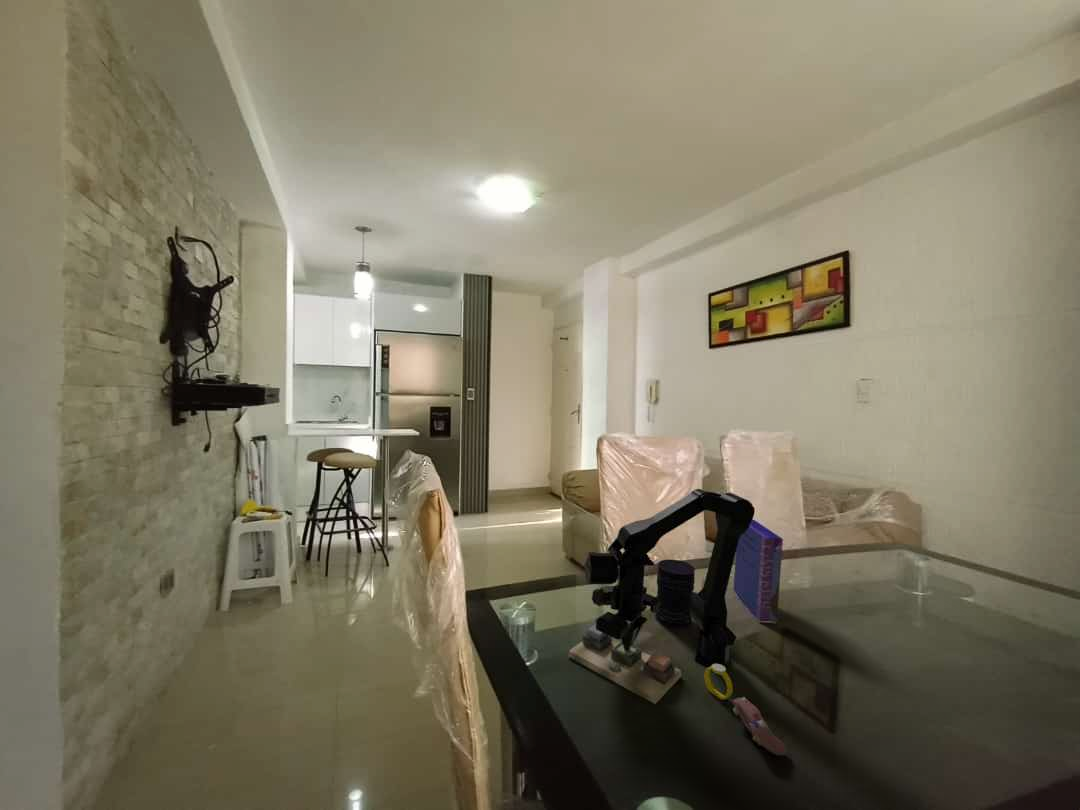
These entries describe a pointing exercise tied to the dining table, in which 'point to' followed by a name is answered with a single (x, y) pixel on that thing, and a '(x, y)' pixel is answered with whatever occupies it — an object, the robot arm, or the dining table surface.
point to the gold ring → (722, 671)
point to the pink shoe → (758, 726)
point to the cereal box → (759, 571)
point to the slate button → (596, 634)
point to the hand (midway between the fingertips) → (626, 649)
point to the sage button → (628, 653)
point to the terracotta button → (659, 662)
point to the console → (625, 667)
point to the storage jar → (674, 593)
